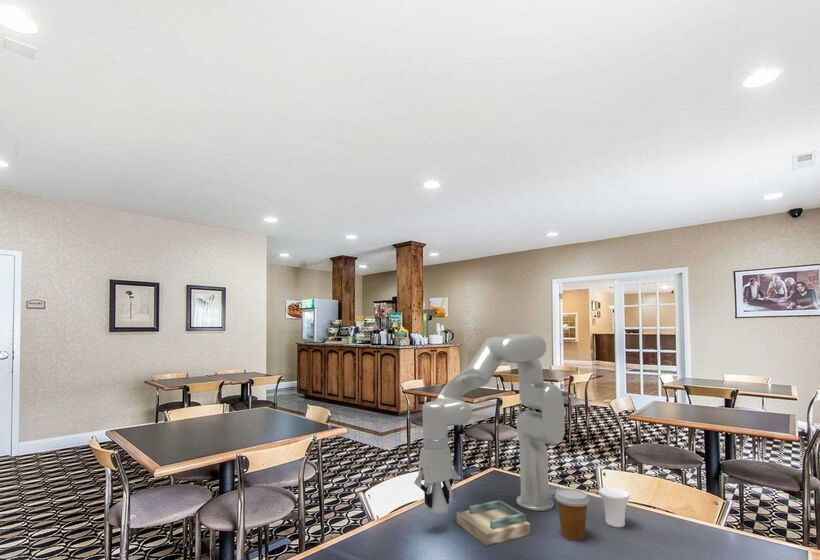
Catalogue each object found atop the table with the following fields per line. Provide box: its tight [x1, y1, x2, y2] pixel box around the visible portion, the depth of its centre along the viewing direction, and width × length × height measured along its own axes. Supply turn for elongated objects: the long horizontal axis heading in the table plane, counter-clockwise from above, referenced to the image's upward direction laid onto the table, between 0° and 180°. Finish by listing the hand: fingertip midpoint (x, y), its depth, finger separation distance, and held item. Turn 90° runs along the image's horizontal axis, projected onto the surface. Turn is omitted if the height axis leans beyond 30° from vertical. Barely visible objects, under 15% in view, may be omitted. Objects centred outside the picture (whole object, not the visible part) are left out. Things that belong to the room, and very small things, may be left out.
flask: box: [425, 482, 450, 516], centre depth 132 cm, size 7×7×10 cm
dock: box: [456, 499, 531, 546], centre depth 132 cm, size 16×16×5 cm
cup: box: [597, 486, 631, 528], centre depth 136 cm, size 9×9×10 cm
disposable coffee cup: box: [554, 487, 590, 541], centre depth 128 cm, size 10×10×12 cm
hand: (437, 503), depth 131 cm, fingers closed on flask, 5 cm apart
